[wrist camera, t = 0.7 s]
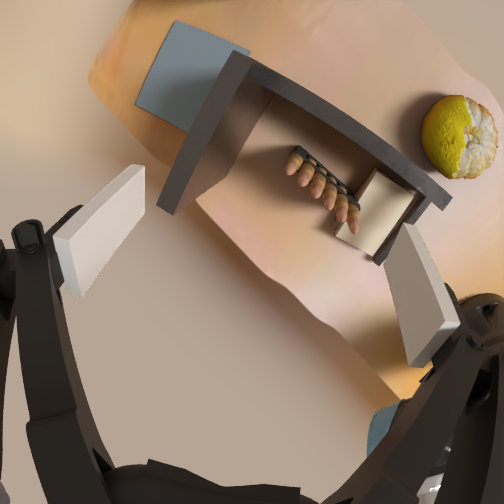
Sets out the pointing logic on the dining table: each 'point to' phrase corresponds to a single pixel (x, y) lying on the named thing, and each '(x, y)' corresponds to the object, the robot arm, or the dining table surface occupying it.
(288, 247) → the dining table surface
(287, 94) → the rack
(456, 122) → the fruit
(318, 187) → the ammunition clip
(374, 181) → the offcut upper
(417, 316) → the robot arm
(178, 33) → the mat
